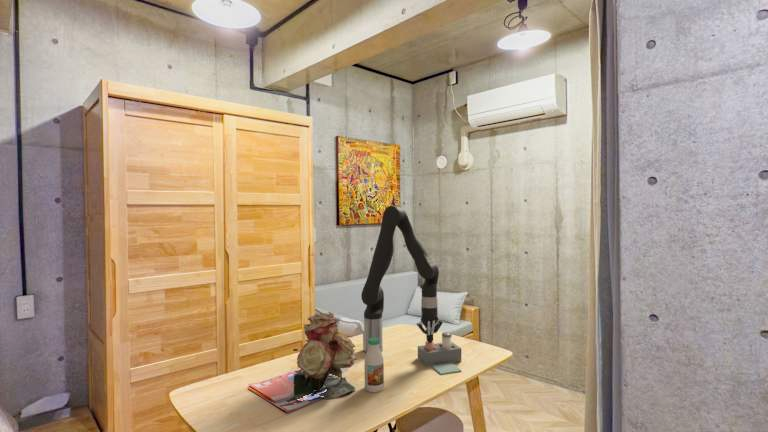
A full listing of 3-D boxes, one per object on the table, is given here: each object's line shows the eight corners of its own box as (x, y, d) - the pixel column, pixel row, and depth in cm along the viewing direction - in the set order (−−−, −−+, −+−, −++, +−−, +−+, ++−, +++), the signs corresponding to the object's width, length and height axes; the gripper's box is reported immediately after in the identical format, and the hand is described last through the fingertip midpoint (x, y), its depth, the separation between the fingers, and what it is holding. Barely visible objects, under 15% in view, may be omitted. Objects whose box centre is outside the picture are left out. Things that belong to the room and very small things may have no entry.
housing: (426, 366, 182) (426, 353, 182) (417, 358, 192) (417, 346, 192) (461, 361, 188) (461, 348, 188) (451, 353, 197) (451, 341, 197)
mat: (440, 374, 173) (440, 373, 173) (431, 366, 181) (431, 365, 181) (461, 371, 176) (461, 370, 176) (451, 363, 185) (451, 362, 185)
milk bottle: (361, 390, 159) (360, 340, 159) (370, 382, 166) (370, 335, 165) (378, 394, 155) (377, 343, 155) (387, 386, 162) (386, 337, 162)
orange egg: (427, 356, 186) (427, 344, 186) (424, 353, 189) (424, 341, 189) (435, 355, 187) (435, 343, 187) (431, 352, 191) (431, 340, 191)
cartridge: (444, 361, 188) (444, 335, 188) (440, 357, 193) (440, 332, 192) (453, 359, 190) (453, 334, 189) (448, 356, 194) (448, 331, 194)
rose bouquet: (295, 408, 145) (294, 327, 145) (291, 376, 173) (290, 307, 173) (364, 398, 152) (363, 320, 151) (349, 369, 180) (349, 303, 180)
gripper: (438, 302, 193) (438, 337, 194) (413, 305, 189) (413, 341, 189) (445, 306, 186) (446, 342, 187) (419, 308, 182) (420, 346, 182)
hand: (429, 342), depth 188 cm, fingers closed
